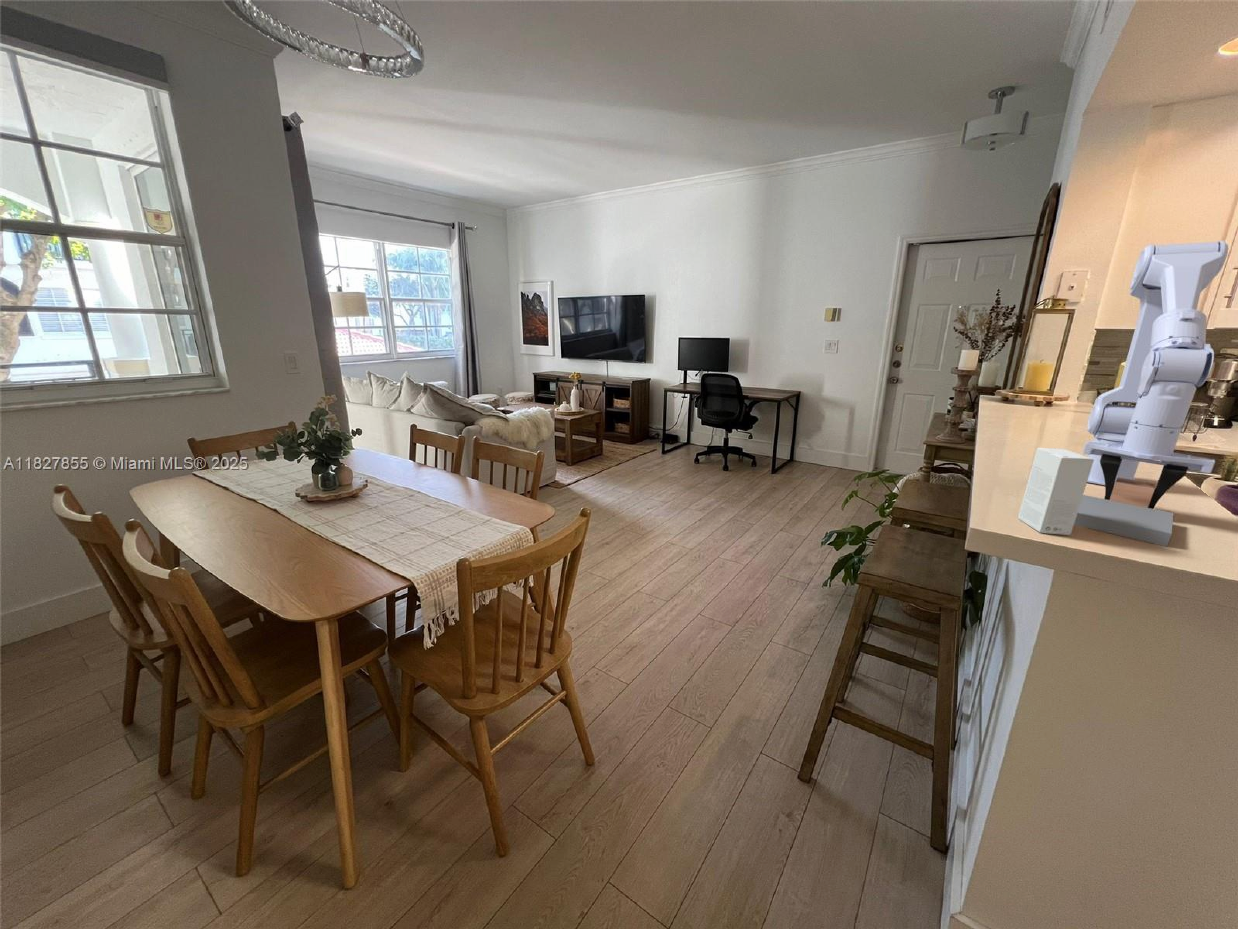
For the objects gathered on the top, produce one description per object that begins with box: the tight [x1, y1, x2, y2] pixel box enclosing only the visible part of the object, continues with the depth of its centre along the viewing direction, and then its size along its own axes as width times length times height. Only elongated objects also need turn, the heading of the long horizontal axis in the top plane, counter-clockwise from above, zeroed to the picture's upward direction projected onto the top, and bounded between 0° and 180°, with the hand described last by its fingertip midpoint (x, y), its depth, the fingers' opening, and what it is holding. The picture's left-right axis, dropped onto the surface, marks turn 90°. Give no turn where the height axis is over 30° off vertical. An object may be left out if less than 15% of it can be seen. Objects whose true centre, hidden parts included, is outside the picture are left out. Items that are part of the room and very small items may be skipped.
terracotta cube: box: [1110, 477, 1156, 508], centre depth 81 cm, size 4×4×5 cm
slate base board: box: [1074, 494, 1174, 547], centre depth 76 cm, size 12×12×2 cm
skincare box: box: [1017, 447, 1094, 536], centre depth 73 cm, size 6×4×12 cm
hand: (1128, 503), depth 81 cm, fingers closed on terracotta cube, 4 cm apart
